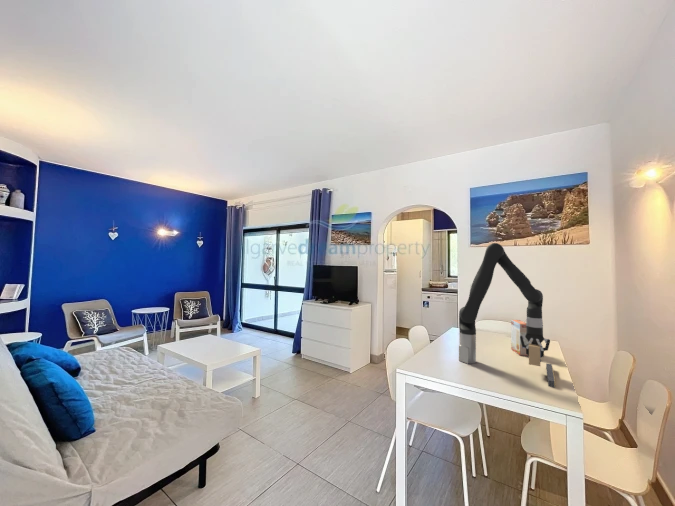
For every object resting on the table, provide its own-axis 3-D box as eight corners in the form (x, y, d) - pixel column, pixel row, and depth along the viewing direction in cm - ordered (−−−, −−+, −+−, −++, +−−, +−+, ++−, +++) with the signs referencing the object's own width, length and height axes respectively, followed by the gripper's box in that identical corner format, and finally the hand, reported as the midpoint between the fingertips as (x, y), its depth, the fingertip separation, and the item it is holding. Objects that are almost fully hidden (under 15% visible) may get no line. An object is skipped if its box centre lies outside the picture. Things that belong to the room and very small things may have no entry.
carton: (541, 366, 146) (540, 347, 147) (529, 364, 149) (528, 345, 150) (540, 360, 155) (540, 342, 155) (529, 358, 158) (528, 341, 158)
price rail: (555, 387, 136) (555, 381, 136) (548, 386, 137) (548, 380, 137) (552, 369, 158) (552, 364, 158) (546, 368, 160) (546, 363, 160)
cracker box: (529, 356, 180) (529, 324, 181) (519, 355, 181) (519, 323, 182) (520, 349, 194) (520, 319, 194) (510, 348, 195) (510, 319, 196)
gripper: (550, 326, 151) (550, 357, 151) (519, 322, 160) (519, 351, 159) (551, 328, 145) (551, 361, 145) (518, 324, 154) (519, 355, 153)
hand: (534, 356), depth 152 cm, fingers closed on carton, 5 cm apart
